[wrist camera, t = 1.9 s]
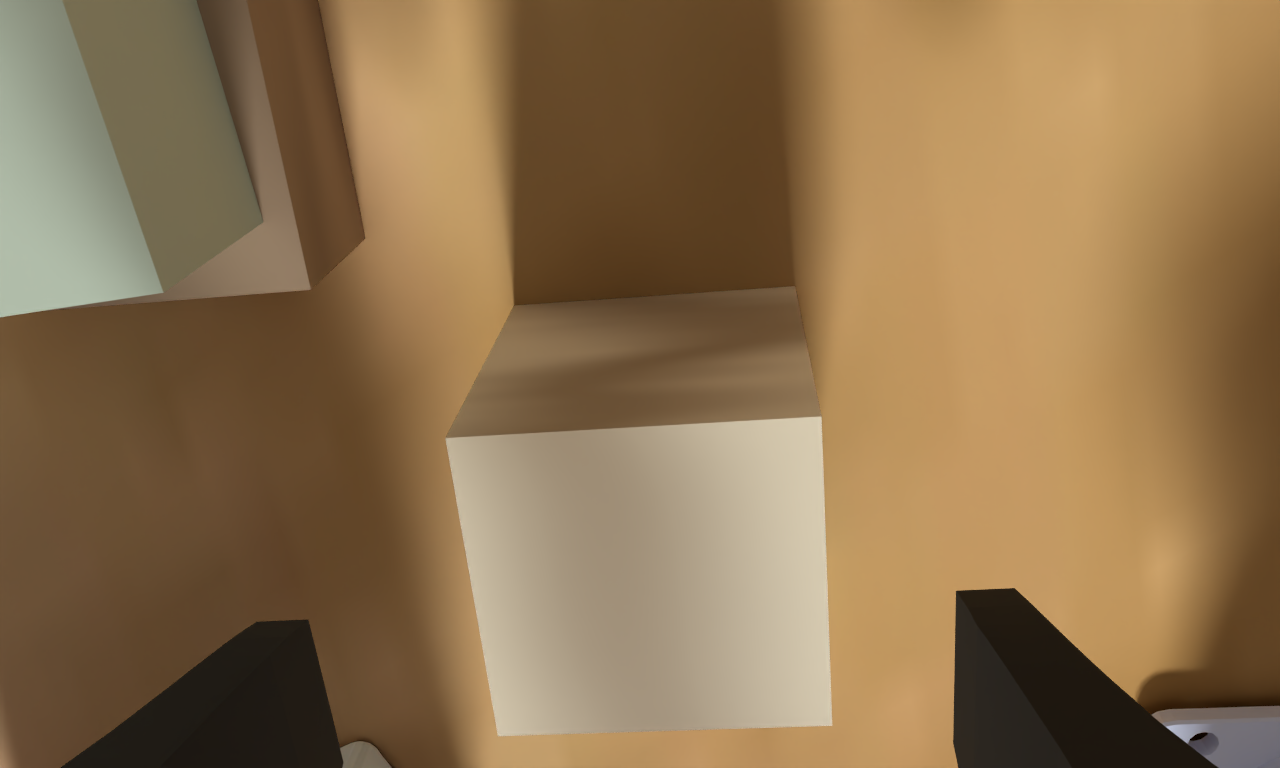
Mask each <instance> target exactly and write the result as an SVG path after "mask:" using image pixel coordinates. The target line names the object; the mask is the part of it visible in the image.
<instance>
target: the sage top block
mask: <svg viewBox="0 0 1280 768" xmlns="http://www.w3.org/2000/svg"><path fill="white" fill-rule="evenodd" d="M262 223H263V219H262V216H261V212H260V209H259V206H258V202H257V199H256V196H255V192H254V189H253V186H252V182H251V179H250V176H249V172H248V169H247V166H246V163H245V159H244V156H243V153H242V149H241V146H240V143H239V139H238V136H237V133H236V129H235V126H234V123H233V120H232V116H231V113H230V110H229V106H228V103H227V100H226V96H225V93H224V90H223V86H222V83H221V80H220V77H219V73H218V70H217V67H216V63H215V60H214V57H213V53H212V50H211V47H210V44H209V40H208V37H207V34H206V30H205V27H204V24H203V20H202V17H201V14H200V11H199V7H198V4H197V1H196V0H0V317H5V316H12V315H18V314H25V313H32V312H38V311H45V310H52V309H58V308H65V307H72V306H78V305H85V304H92V303H98V302H105V301H112V300H118V299H125V298H132V297H138V296H145V295H152V294H158V293H164V292H165V291H167V290H168V289H169V288H171V287H172V286H174V285H175V284H177V283H178V282H179V281H181V280H182V279H184V278H185V277H186V276H188V275H189V274H191V273H192V272H194V271H195V270H196V269H198V268H199V267H201V266H202V265H203V264H205V263H206V262H208V261H209V260H211V259H212V258H213V257H215V256H216V255H218V254H219V253H220V252H222V251H223V250H225V249H226V248H228V247H229V246H230V245H232V244H233V243H235V242H236V241H237V240H239V239H240V238H242V237H243V236H245V235H246V234H247V233H249V232H250V231H252V230H253V229H254V228H256V227H257V226H259V225H260V224H262Z"/></svg>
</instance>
